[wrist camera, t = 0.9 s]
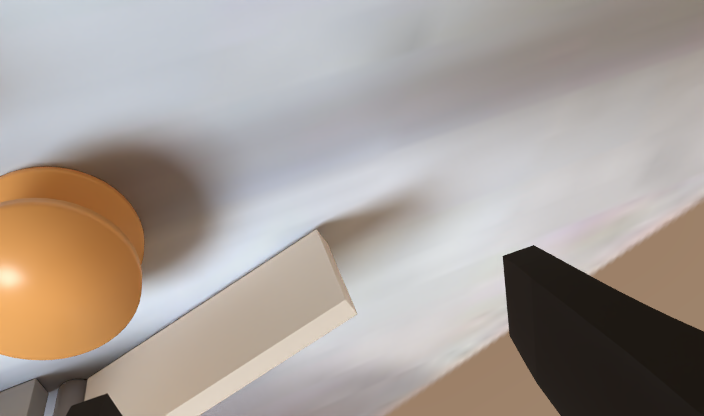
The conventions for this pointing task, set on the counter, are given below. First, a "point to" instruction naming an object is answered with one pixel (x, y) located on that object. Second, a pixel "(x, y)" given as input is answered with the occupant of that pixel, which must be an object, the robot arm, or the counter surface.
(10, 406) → the open grey tray
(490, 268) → the counter surface
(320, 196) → the counter surface
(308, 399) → the counter surface
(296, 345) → the cover
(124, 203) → the door knob
